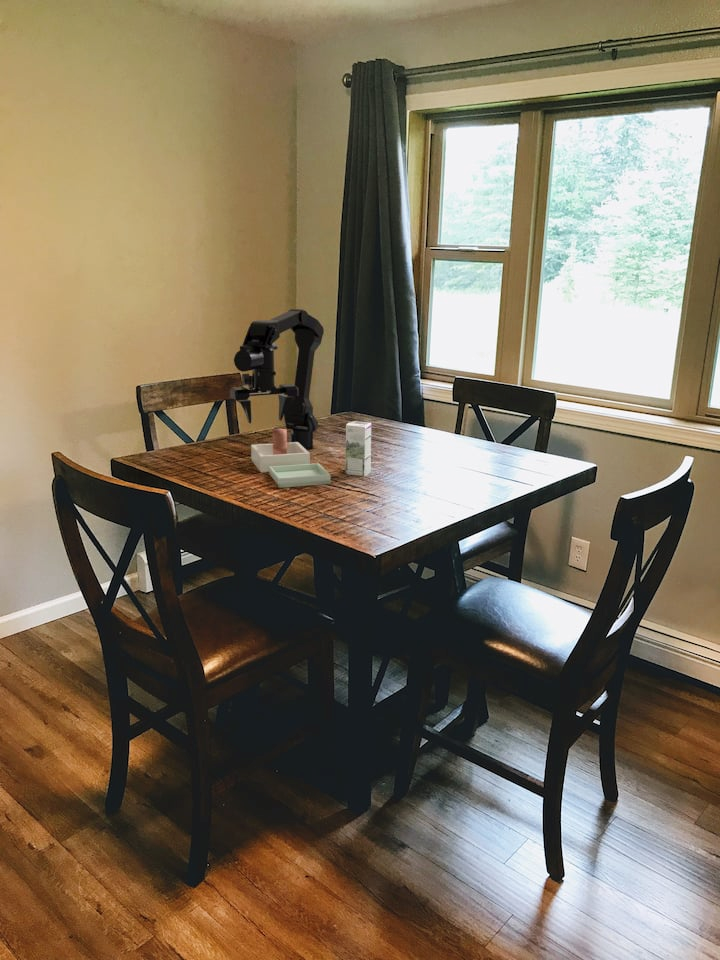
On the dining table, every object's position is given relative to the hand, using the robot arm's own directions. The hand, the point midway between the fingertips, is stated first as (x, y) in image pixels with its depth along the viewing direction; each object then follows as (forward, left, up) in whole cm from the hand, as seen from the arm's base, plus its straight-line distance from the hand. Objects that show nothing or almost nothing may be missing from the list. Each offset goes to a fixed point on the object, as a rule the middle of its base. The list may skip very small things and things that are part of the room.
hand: (265, 421), depth 217 cm
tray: (-5, +19, -12) cm, 23 cm away
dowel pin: (-3, +4, -12) cm, 13 cm away
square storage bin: (-3, +4, -12) cm, 13 cm away
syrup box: (-22, +18, -13) cm, 31 cm away
